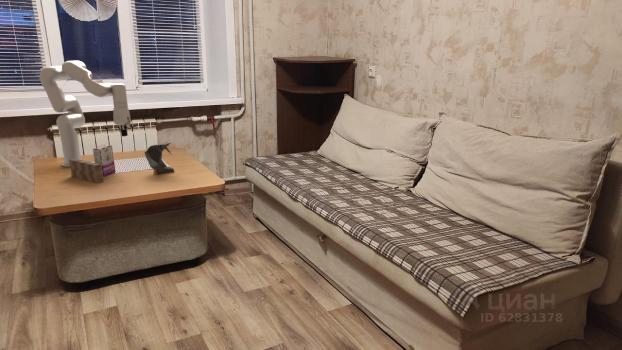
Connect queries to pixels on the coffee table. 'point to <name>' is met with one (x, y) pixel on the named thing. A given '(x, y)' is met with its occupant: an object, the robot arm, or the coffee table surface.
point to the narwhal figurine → (157, 158)
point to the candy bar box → (105, 159)
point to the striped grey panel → (86, 170)
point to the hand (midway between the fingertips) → (124, 135)
